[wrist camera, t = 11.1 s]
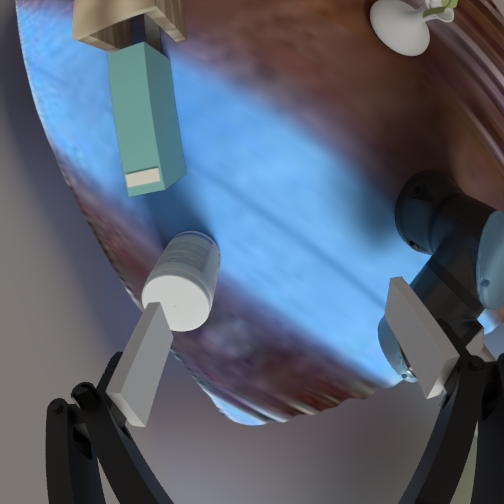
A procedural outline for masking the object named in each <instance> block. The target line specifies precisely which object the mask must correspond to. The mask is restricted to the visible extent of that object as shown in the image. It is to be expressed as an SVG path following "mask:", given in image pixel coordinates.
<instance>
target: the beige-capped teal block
mask: <svg viewBox="0 0 504 504" xmlns="http://www.w3.org/2000/svg"><path fill="white" fill-rule="evenodd" d="M107 58H108V71H109V82H110V92H111V100H112V108H113V116H114V123H115V129H116V135H117V141H118V147H119V153H120V158H121V163H122V168H123V173H124V178H125V183H126V187H127V192H128V196H129V197H131V196H135V195H140V194H146V193H151V192H156V191H162V190H166V189H167V188H168V187H169V186H171V185H172V184H173V183H175V182H176V181H178V180H179V179H180V178H182V177H183V176H184V175H186V169H185V163H184V157H183V151H182V145H181V139H180V132H179V126H178V119H177V112H176V105H175V98H174V90H173V82H172V74H171V66H170V59H168V58H167V57H166V56H164V55H163V54H161V53H160V52H158V51H157V50H156V49H154V48H153V47H151V46H150V45H148V44H147V43H145V42H141V43H138V44H135V45H132V46H129V47H126V48H124V49H121V50H118V51H116V52H113V53H111V54H108V55H107Z"/></svg>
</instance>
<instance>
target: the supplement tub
mask: <svg viewBox="0 0 504 504" xmlns="http://www.w3.org/2000/svg"><path fill="white" fill-rule="evenodd" d="M220 261H221V255H220V251H219V248H218V246H217V245H216V243H215V242H214V241H213V240H212V239H211V238H210V237H209V236H207V235H205V234H203V233H201V232H198V231H185V232H181V233H179V234H177V235H176V236H174V237H173V238H172V239H171V241H170V242H169V244H168V245H167V247H166V248H165V250H164V252H163V253H162V255H161V256H160V258H159V260H158V261H157V263H156V265H155V266H154V268H153V270H152V271H151V273H150V275H149V277H148V278H147V280H146V283H145V286H144V288H143V291H142V303H143V306H144V309H145V308H146V307H147V305H148V303H151V302H160V303H161V305H162V308H163V311H164V314H165V317H166V320H167V322H168V325H169V328H170V330H175V331H189V330H193V329H195V328H198V327H199V326H201V325H202V324H203V323H204V322H205V321H206V319H207V317H208V315H209V312H210V310H211V306H212V301H213V297H214V291H215V286H216V281H217V276H218V272H219V267H220Z"/></svg>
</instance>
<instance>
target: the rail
mask: <svg viewBox="0 0 504 504" xmlns="http://www.w3.org/2000/svg"><path fill="white" fill-rule="evenodd" d="M144 21H145V36H146V43H147V44H148V45H150V46H151V47H153V48H154V49H156V50H157V51H158V52H160V53H161V54H162V50H161V39H160V28H159V25H158V24H157V23H156V22H155V21H153V20H152V19H151V18H150V17H149V16H148V15H147V14H146V13H144Z"/></svg>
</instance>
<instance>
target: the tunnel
mask: <svg viewBox="0 0 504 504" xmlns="http://www.w3.org/2000/svg"><path fill="white" fill-rule="evenodd" d="M142 13H146V14H147V15H148V16H149V17H150V18H151V19H152V20H153V21H155V22H156V23H157V24H158V25H159V26H160V27H161V28H162V29H163V30H164V31H165V32H166V33H167V34H169V35H170V36H171V37H172V38H173V39H174V40H175V41H176V42H180V41H185V40H187V38H186V29H185V20H184V10H183V1H182V0H74V9H73V39H75V40H78V41H80V42H83V43H86V44H89V45H92V46H94V47H97V48H100V49H102V50H105V51H108V52H110V53H113V52H116V51H118V50H121V49H124V48H126V47H129V46H132V38H131V19H130V18H131V17H134V16H137V15H139V14H142Z"/></svg>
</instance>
